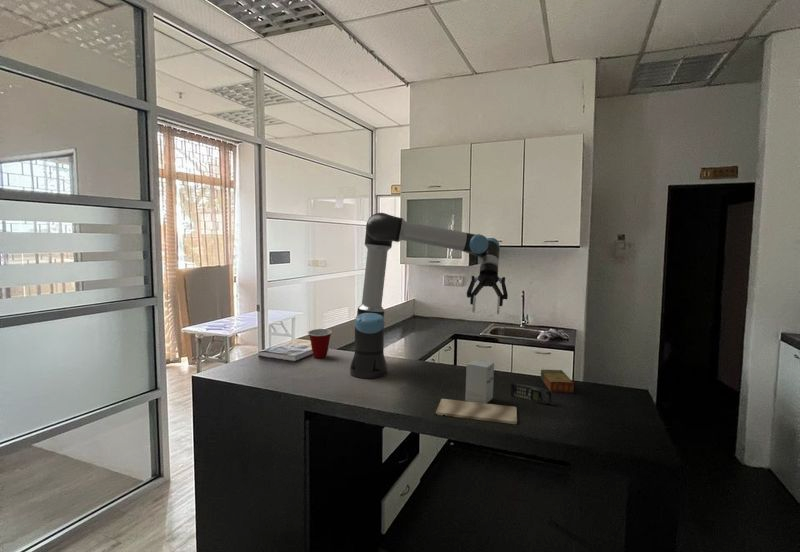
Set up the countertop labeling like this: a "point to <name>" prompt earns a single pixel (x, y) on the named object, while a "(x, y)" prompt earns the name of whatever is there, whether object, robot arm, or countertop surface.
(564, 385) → the carton
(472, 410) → the wooden board
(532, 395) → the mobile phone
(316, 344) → the plastic cup
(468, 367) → the supplement box
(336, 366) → the countertop surface
